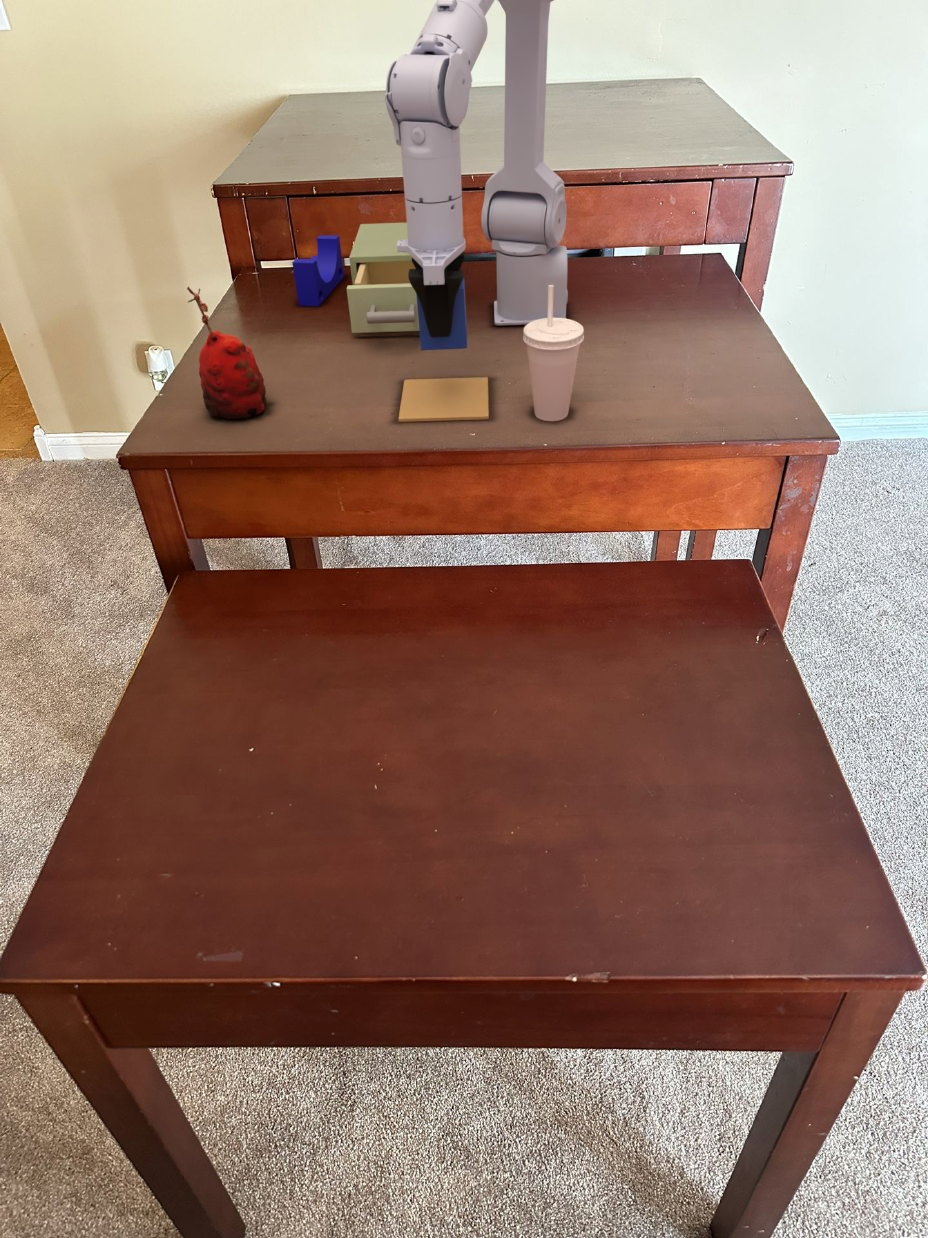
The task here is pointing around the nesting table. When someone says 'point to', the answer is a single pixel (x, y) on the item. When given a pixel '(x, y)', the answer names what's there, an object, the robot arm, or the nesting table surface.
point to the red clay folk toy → (229, 374)
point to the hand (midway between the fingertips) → (440, 328)
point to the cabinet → (378, 245)
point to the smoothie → (552, 362)
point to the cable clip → (319, 272)
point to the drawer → (383, 298)
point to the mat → (444, 399)
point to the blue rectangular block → (457, 330)
